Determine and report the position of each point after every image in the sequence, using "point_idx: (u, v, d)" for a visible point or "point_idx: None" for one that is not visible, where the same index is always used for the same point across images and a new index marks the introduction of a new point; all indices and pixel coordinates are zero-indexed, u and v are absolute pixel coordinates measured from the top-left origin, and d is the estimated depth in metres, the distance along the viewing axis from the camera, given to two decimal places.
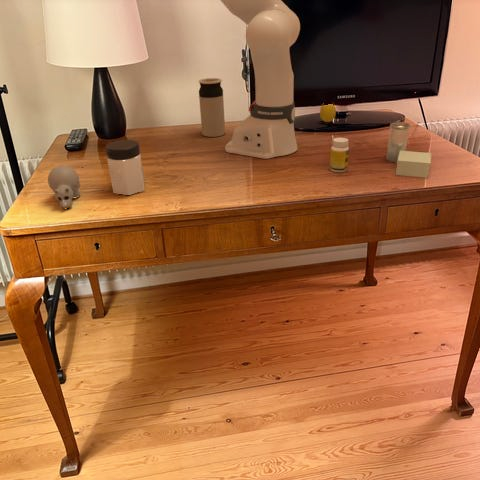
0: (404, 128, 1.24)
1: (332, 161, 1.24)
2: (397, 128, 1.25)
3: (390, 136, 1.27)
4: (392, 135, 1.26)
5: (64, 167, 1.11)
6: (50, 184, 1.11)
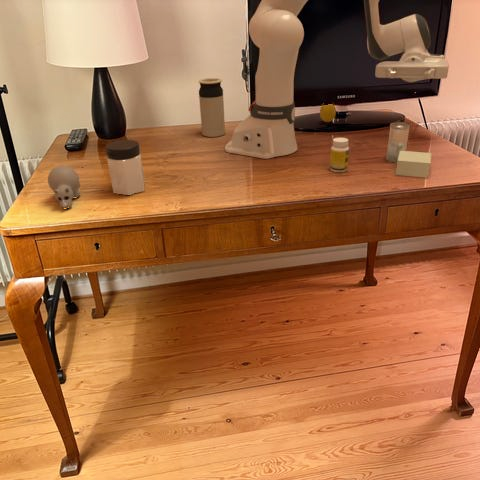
0: (404, 128, 1.24)
1: (332, 161, 1.24)
2: (397, 128, 1.25)
3: (390, 136, 1.27)
4: (392, 135, 1.26)
5: (64, 167, 1.11)
6: (50, 184, 1.11)
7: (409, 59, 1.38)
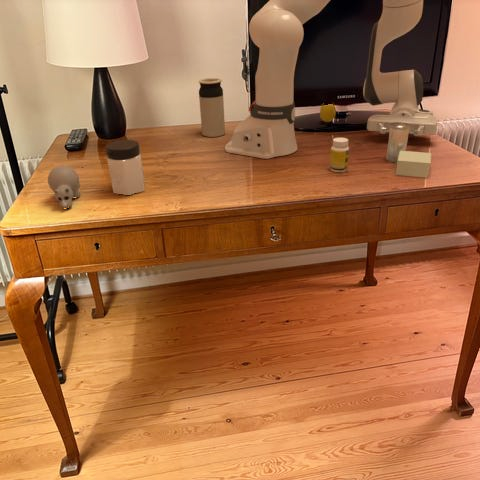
0: (404, 128, 1.24)
1: (332, 161, 1.24)
2: (397, 128, 1.25)
3: (390, 136, 1.27)
4: (392, 135, 1.26)
5: (64, 167, 1.11)
6: (50, 184, 1.11)
7: (399, 114, 1.43)
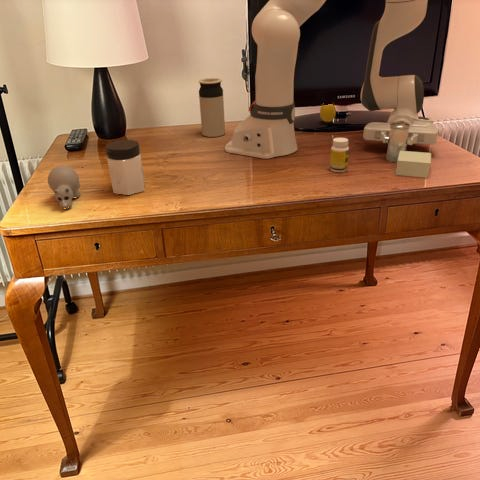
0: (404, 128, 1.24)
1: (332, 161, 1.24)
2: (397, 128, 1.25)
3: (390, 136, 1.27)
4: (392, 135, 1.26)
5: (64, 167, 1.11)
6: (50, 184, 1.11)
7: None
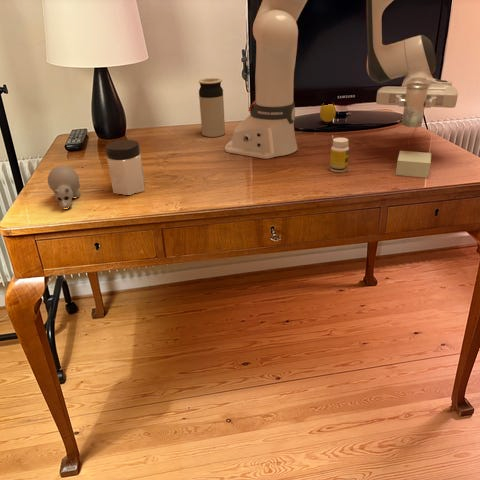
0: (422, 88, 1.14)
1: (332, 161, 1.24)
2: (415, 88, 1.14)
3: (407, 98, 1.17)
4: (409, 97, 1.16)
5: (64, 167, 1.11)
6: (50, 184, 1.11)
7: None
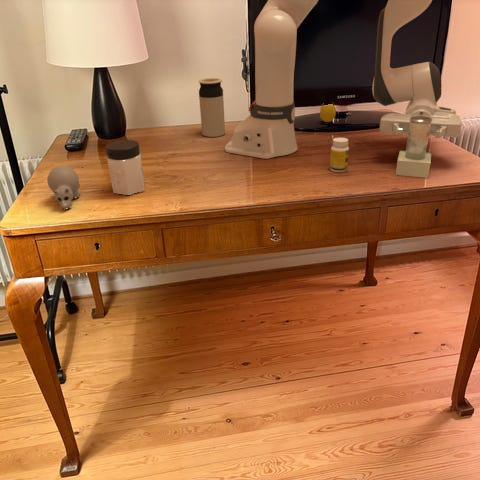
0: (426, 122, 1.14)
1: (332, 161, 1.24)
2: (418, 122, 1.15)
3: (410, 131, 1.17)
4: (413, 130, 1.16)
5: (64, 167, 1.11)
6: (50, 185, 1.10)
7: (417, 113, 1.25)
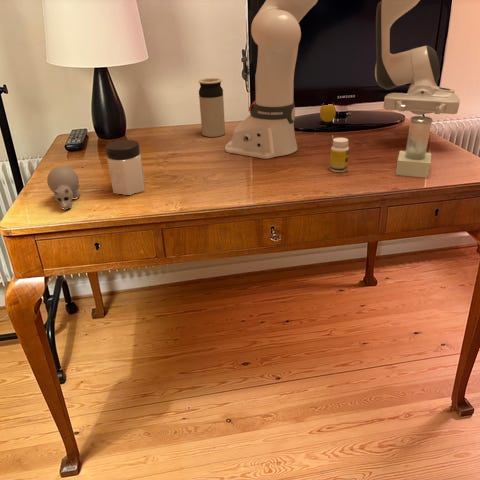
0: (426, 122, 1.14)
1: (332, 161, 1.24)
2: (418, 122, 1.15)
3: (410, 131, 1.17)
4: (413, 130, 1.16)
5: (63, 168, 1.11)
6: (49, 185, 1.10)
7: (418, 92, 1.34)
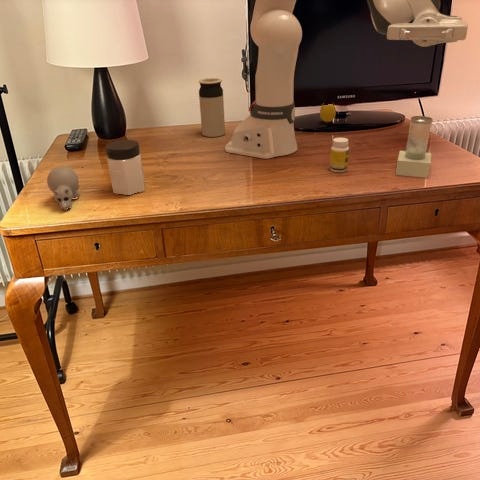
0: (426, 122, 1.14)
1: (332, 161, 1.24)
2: (418, 122, 1.15)
3: (410, 131, 1.17)
4: (413, 130, 1.16)
5: (63, 168, 1.11)
6: (49, 185, 1.10)
7: (424, 20, 1.27)
